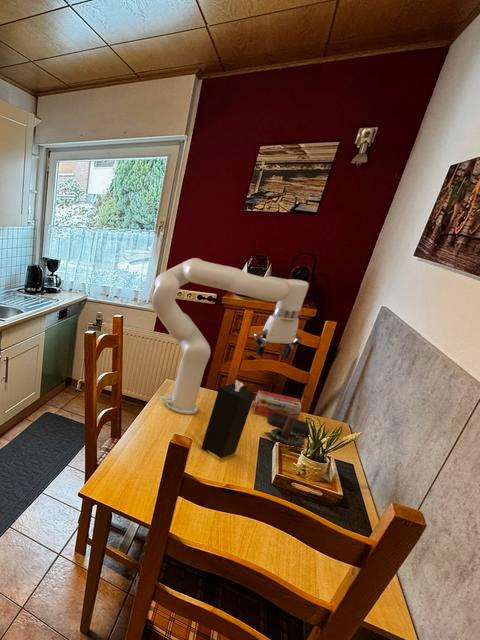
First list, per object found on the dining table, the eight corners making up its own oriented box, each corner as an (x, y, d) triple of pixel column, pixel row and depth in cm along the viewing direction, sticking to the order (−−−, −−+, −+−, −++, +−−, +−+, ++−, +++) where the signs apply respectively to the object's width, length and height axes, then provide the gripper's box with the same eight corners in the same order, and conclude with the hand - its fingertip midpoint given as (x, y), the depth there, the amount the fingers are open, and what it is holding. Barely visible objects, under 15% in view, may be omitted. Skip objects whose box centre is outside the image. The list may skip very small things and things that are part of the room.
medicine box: (253, 413, 166) (259, 396, 163) (252, 405, 173) (258, 389, 170) (295, 423, 159) (302, 406, 156) (293, 415, 166) (300, 399, 163)
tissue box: (220, 460, 134) (244, 388, 123) (200, 448, 140) (221, 378, 129) (234, 455, 137) (258, 384, 126) (214, 443, 144) (235, 374, 133)
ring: (280, 446, 141) (282, 442, 140) (264, 431, 150) (265, 426, 150) (310, 448, 140) (312, 444, 140) (291, 432, 150) (293, 428, 149)
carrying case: (265, 427, 156) (310, 441, 148) (267, 420, 155) (313, 434, 146) (268, 416, 164) (311, 430, 155) (271, 410, 163) (314, 423, 154)
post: (277, 449, 142) (287, 422, 137) (263, 435, 150) (272, 409, 146) (302, 450, 142) (313, 423, 137) (287, 436, 150) (297, 411, 145)
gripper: (303, 312, 147) (288, 353, 154) (256, 309, 148) (243, 351, 155) (317, 317, 140) (300, 361, 147) (268, 314, 141) (254, 358, 148)
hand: (271, 356), depth 151 cm, fingers open, 9 cm apart
